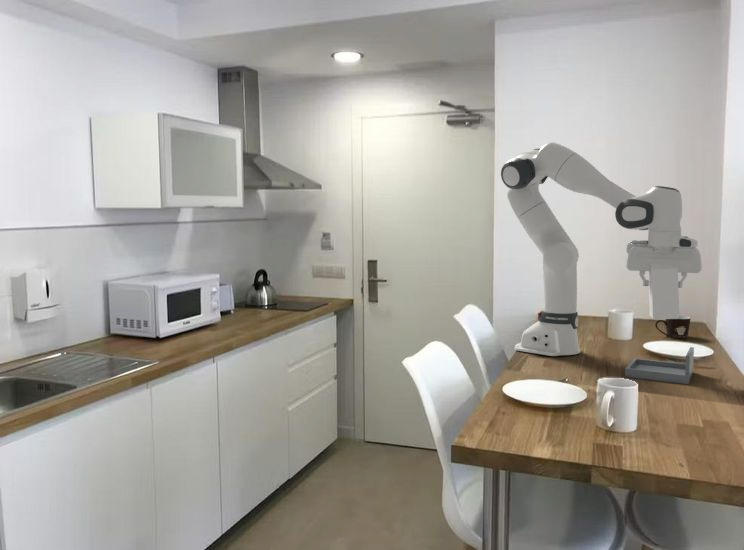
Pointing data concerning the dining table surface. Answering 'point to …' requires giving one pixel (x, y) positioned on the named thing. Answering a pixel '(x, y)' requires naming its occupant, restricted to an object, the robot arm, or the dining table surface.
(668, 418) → the dining table surface
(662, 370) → the tray
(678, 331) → the coffee mug
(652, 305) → the milk carton
